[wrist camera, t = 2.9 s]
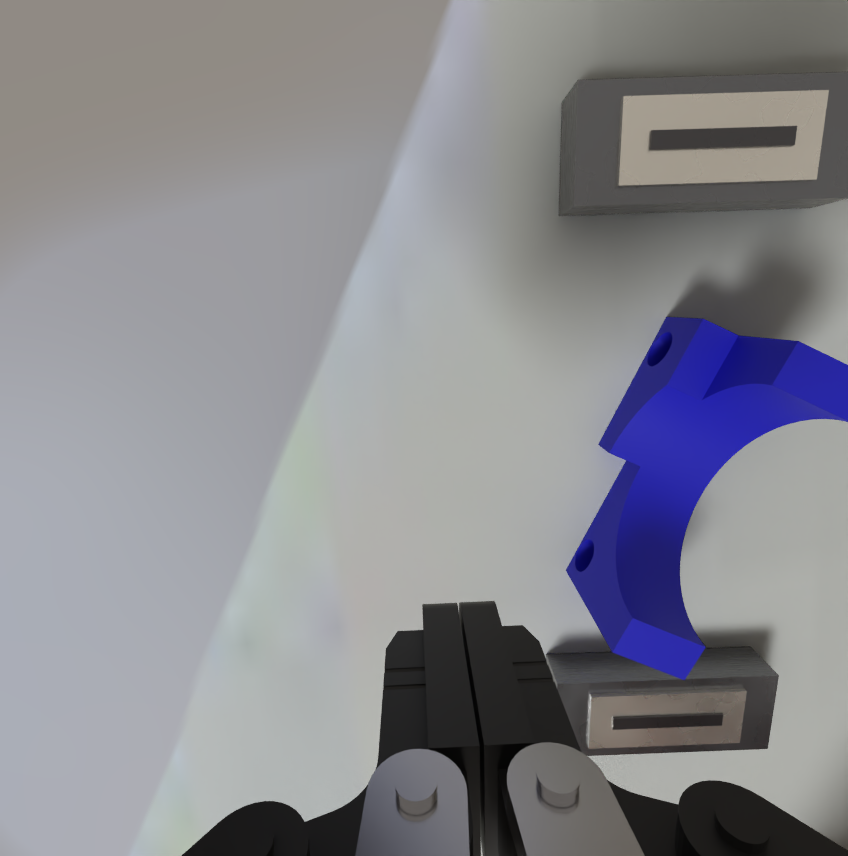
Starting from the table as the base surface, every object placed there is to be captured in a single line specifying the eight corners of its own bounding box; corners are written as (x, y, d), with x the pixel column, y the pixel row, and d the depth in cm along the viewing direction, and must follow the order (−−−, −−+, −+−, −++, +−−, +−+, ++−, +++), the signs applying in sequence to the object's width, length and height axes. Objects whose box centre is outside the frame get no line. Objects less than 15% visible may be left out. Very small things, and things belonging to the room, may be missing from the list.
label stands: (825, 94, 19) (878, 67, 17) (741, 715, 26) (771, 754, 24) (561, 102, 19) (581, 75, 17) (544, 723, 26) (556, 762, 24)
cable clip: (664, 316, 21) (756, 321, 16) (754, 359, 22) (878, 379, 16) (536, 556, 24) (575, 637, 18) (620, 590, 24) (684, 680, 19)
